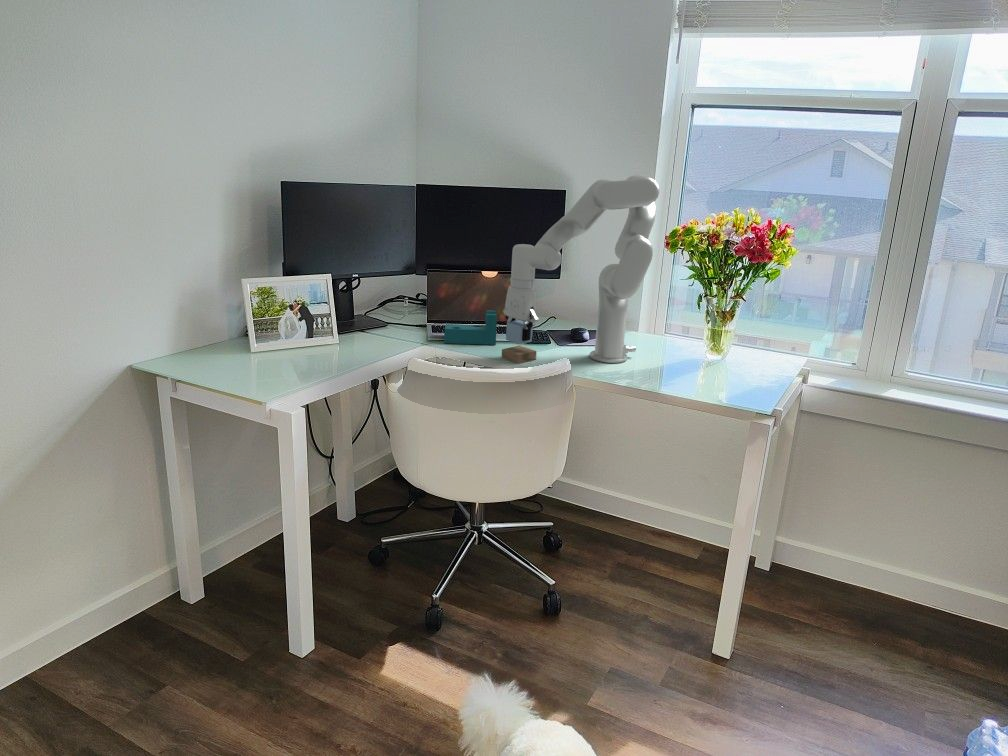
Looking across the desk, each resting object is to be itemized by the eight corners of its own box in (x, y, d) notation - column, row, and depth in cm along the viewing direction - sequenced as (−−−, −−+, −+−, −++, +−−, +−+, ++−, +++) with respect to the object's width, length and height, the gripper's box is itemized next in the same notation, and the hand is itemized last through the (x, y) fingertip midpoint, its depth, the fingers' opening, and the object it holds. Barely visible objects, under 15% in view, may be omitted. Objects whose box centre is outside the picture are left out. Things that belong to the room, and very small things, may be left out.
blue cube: (519, 337, 244) (520, 319, 242) (531, 341, 240) (532, 323, 238) (505, 339, 240) (506, 322, 238) (518, 344, 236) (519, 326, 234)
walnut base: (519, 353, 247) (519, 345, 246) (535, 359, 242) (536, 350, 241) (501, 357, 242) (502, 349, 241) (518, 363, 236) (518, 354, 236)
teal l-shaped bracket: (495, 339, 266) (496, 310, 264) (495, 344, 256) (496, 315, 253) (445, 337, 265) (446, 309, 263) (444, 343, 255) (444, 313, 253)
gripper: (495, 280, 237) (492, 333, 243) (533, 289, 225) (529, 345, 231) (512, 278, 242) (509, 330, 248) (549, 287, 230) (545, 342, 236)
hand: (519, 337), depth 239 cm, fingers closed on blue cube, 6 cm apart
